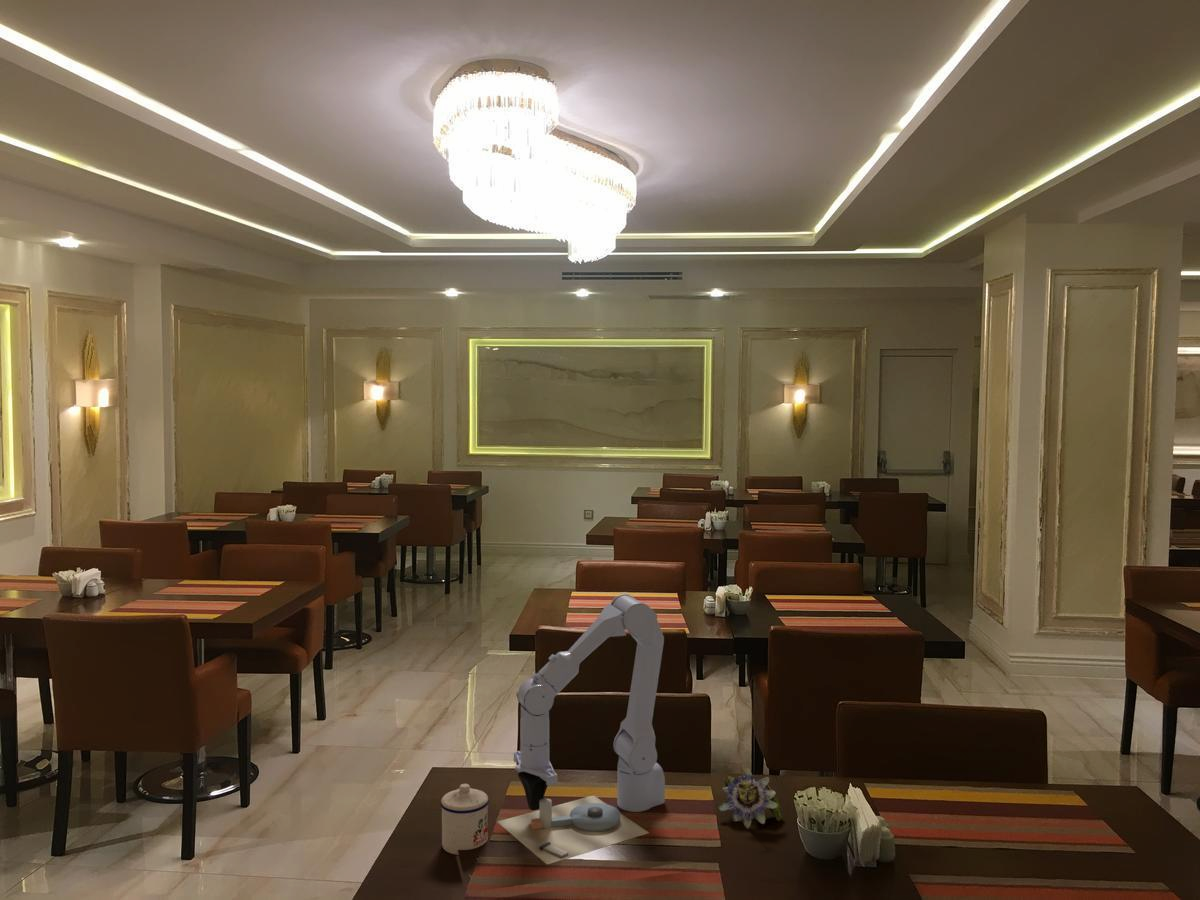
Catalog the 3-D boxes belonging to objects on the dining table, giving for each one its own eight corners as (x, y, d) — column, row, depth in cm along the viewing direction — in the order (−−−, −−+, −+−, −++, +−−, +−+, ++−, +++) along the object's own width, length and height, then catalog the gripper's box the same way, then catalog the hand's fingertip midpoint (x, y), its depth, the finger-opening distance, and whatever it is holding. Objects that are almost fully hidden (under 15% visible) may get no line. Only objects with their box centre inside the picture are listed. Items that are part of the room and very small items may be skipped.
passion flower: (746, 854, 189) (713, 810, 186) (739, 819, 199) (707, 778, 197) (795, 826, 187) (762, 782, 185) (784, 792, 198) (753, 750, 195)
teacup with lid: (482, 858, 176) (482, 796, 175) (434, 855, 177) (434, 794, 176) (497, 828, 188) (496, 770, 187) (452, 825, 189) (451, 768, 188)
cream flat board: (593, 800, 200) (593, 792, 200) (649, 838, 184) (649, 829, 184) (497, 827, 188) (496, 818, 188) (547, 870, 171) (547, 861, 171)
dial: (612, 806, 195) (612, 782, 195) (626, 828, 185) (626, 803, 185) (527, 816, 190) (527, 792, 190) (537, 839, 181) (537, 813, 180)
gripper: (500, 733, 192) (500, 799, 193) (534, 757, 180) (534, 827, 181) (530, 727, 196) (531, 791, 197) (566, 750, 184) (566, 818, 185)
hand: (535, 808), depth 189 cm, fingers closed
